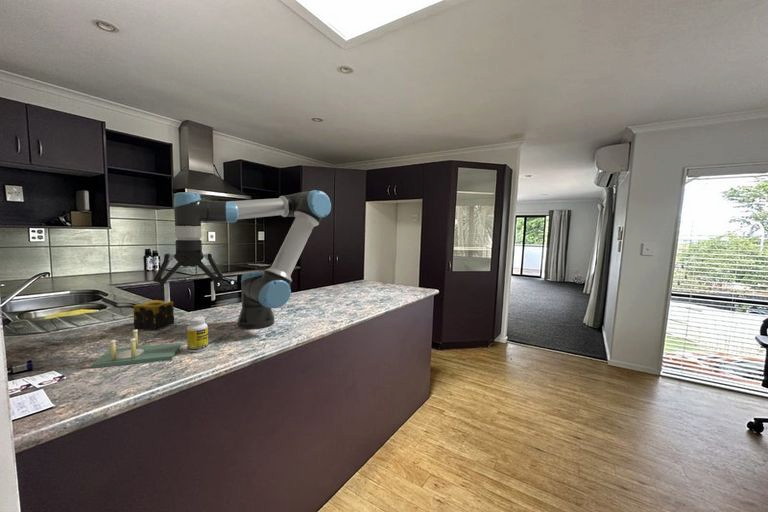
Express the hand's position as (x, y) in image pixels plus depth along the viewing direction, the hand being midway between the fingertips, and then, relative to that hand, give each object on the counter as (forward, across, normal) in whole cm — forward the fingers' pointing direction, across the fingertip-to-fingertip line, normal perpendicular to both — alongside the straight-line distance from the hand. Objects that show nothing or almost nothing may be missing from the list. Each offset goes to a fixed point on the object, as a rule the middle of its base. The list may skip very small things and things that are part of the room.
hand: (190, 301), depth 105 cm
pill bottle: (+17, -2, +1) cm, 17 cm away
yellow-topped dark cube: (+17, +20, -32) cm, 42 cm away
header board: (+17, +14, +2) cm, 22 cm away
